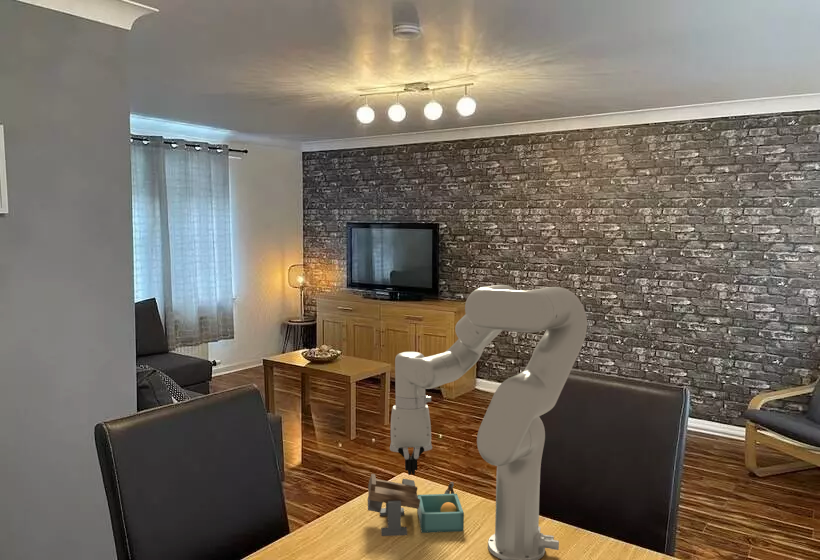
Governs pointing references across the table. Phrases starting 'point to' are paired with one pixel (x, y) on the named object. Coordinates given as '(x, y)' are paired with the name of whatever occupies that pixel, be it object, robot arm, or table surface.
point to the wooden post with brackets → (450, 488)
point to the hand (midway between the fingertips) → (411, 472)
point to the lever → (391, 493)
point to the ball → (448, 507)
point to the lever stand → (393, 519)
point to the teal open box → (439, 514)
